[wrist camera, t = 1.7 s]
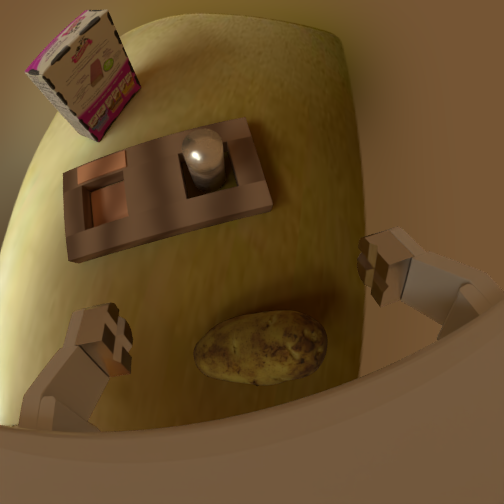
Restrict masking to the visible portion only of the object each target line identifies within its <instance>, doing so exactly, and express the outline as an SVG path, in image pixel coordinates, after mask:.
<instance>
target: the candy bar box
mask: <svg viewBox="0 0 504 504" xmlns="http://www.w3.org/2000/svg"><path fill="white" fill-rule="evenodd" d="M25 73H26V75H27V76H28V77H29V78H30V79H31V80H32V82H33V83H34V84H35V85H36V86H37V87H38V88H39V90H40V91H41V92H42V93H43V94H44V95H45V97H46V98H47V99H48V100H49V101H50V102H51V103H52V104H53V106H54V107H55V108H56V109H57V110H58V111H59V112H60V113H61V115H62V116H63V117H64V118H65V119H66V120H67V121H68V122H69V123H70V124H71V125H72V127H73V128H74V129H75V130H76V131H77V132H78V133H79V134H81V135H83V136H85V137H88V138H90V139H92V140H94V141H96V142H99V141H100V140H101V139H102V137H103V136H104V134H105V133H106V132H107V130H108V129H109V127H110V126H111V125H112V123H113V122H114V120H115V119H116V118H117V116H118V115H119V114H120V112H121V111H122V110H123V108H124V107H125V106H126V105H127V103H128V102H129V101H130V100H131V98H132V97H133V96H134V95H135V93H136V92H137V91H138V90H139V89H140V88H141V85H140V83H139V81H138V79H137V76H136V74H135V72H134V70H133V67H132V65H131V63H130V61H129V58H128V56H127V54H126V52H125V49H124V47H123V44H122V42H121V40H120V38H119V35H118V33H117V31H116V28H115V26H114V24H113V21H112V19H111V16H110V14H109V12H108V10H92V11H91V10H86V11H84V12H83V13H82V14H80V15H79V16H78V17H77V18H76V19H75V20H74V21H73V22H71V23H70V24H69V25H68V26H67V27H66V28H65V29H64V30H63V31H62V32H61V33H60V34H59V35H58V36H56V37H55V39H53V40H52V41H51V42H50V44H49V45H48V46H47V47H46V48H45V49H44V50H43V51H42V52H41V53H40V54H39V55H38V56H37V57H36V59H35V60H34V61H33V62H32V63H31V64H30V66H29V67H28V68H27V69H26V70H25Z"/></svg>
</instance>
